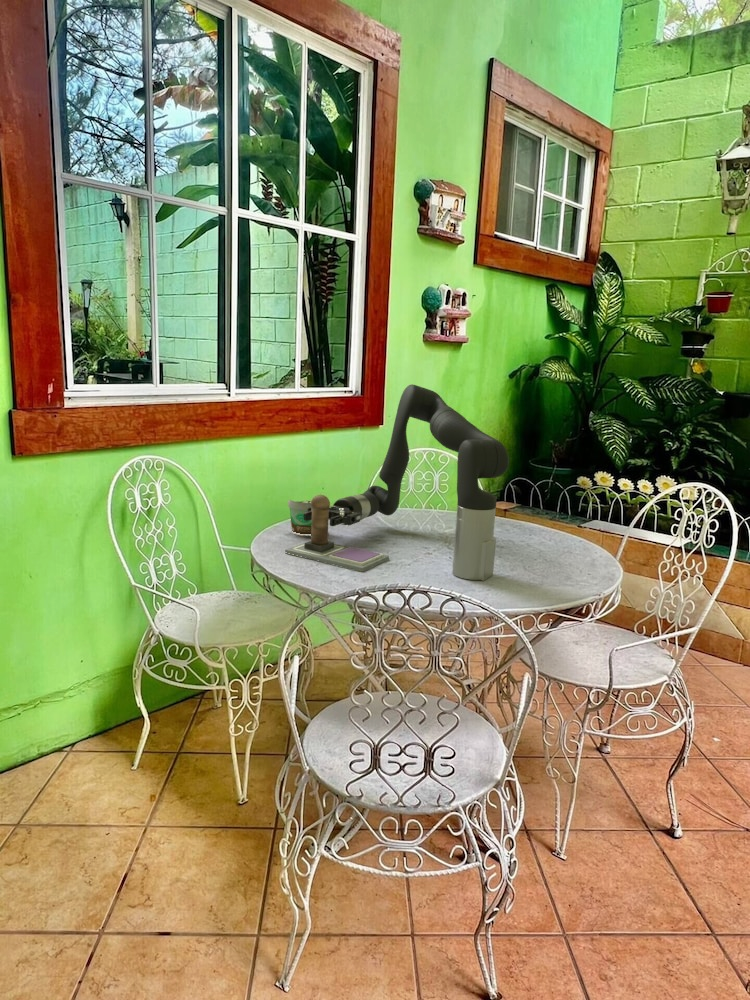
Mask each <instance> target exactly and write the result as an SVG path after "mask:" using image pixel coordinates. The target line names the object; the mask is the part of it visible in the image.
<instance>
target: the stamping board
mask: <svg viewBox="0 0 750 1000" xmlns="http://www.w3.org/2000/svg"><path fill="white" fill-rule="evenodd" d="M305 543H306V542H304V543H300V544H297V545H295V546H292V547H290V548H289V547H288V548H286V549H284V553H285V552H287V553H290V554H294V555H298V556H297V557H299V556H302V557H301V558H303V557H306V558H305V559H307V558H310V559H309V560H311V559H314V560H313V561H315V560H319V561H322V562H321V563H323V562H326V563H325V564H327V563H330V564H329V565H332V564H334V565H333V566H336V565H338V566H337V567H340V566H342V567H341V568H344V567H346V568H345V569H348V568H349V570H352V569H353V570H354V571H357V572H364V571H367V570H369V569H371V568H374V567H376V566H377V565H380V564H382V563H385V562H387V561H389V560H390V555H387V554H383V553H380V552H376V551H370V550H367V549H366V550H365V549H362V548H357V547H353V546H346V545H342V544H338V543H334V548H332V549H329V550H327V551H324V552H317V551H313V550H309V549H304V544H305ZM290 554H289V555H290ZM294 555H293V556H294ZM319 561H318V562H319ZM353 570H352V571H353Z"/></svg>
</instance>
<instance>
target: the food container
mask: <svg viewBox="0 0 750 1000" xmlns="http://www.w3.org/2000/svg"><path fill="white" fill-rule="evenodd" d="M288 499H289V500H288V501H287V505H286V506H287V507H288V508H289V515H290V525H291V526H290V527H291V532H292V531H293V532H296V533H300V534H311V525H312V520H308V521H304V513H305V512H307V508H310V507H311V501H312V500H303V501H294V500H292V499H290V498H288Z"/></svg>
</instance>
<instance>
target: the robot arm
mask: <svg viewBox="0 0 750 1000" xmlns="http://www.w3.org/2000/svg"><path fill="white" fill-rule="evenodd" d="M410 418H412V419H416V420H419V421H422V422H425V423H429V431H430V433H431V435H432V437H433V438H434V439H435V440H436V441H437V442H438V443H439V444H440V445H441V446H442V447H445V448H446V449H448V450H451V451H453V452H456V453H457V464H456V465H457V467H456V468H457V469H456V471H457V473H456V474H457V476H456V477H457V478H456V495H457V504H456V507H457V508H456V520H455V530H454V531H455V532H454V533H455V534H454V542H453V543H454V544H453V545H454V546H453V547H454V548H453V555H452V556H453V559H452V571H451V572H452V574H453V576H456V577H457V578H459V579H460V578H461V579H466V580H472V581H473V580H475V581H485V580H487V579H489V578H491V576H493V575H494V568H495V558H496V557H495V556H496V545H497V544H496V543H497V538H496V537H495V536H494V534H495V521H496V512H497V511H496V509H497V496H496V495H495V494H493V493H491V492H488V491H485V490H483V489H482V488H480V487H479V479H495V478H499V477H501V476H503V475H504V474H505V473H506V472H507V470H508V468H509V464H510V459H509V457H510V456H509V454H508V451H507V449H506V447H505V444H503V442H502V441H499V440H498V439H497V438H495V437H493V436H490V435H489V434H487V433H486V432H483V431H482V430H481V429H480V428H478V427H477V426H476V425H474V424H473V423H472V422H470V421H469V420H468V419H467V418H466V417H464V416H463V415H462V414H461V413H460V412H458V411H457V410H455V409H454V408H452V407H451V406H450V405H448V404H447V403H446V402H445V400H444V399H443V398H442V396H440V395H439V393H437V392H435V391H434V390H431V389H428V388H425V387H422V386H419V385H416V384H409V385H407V386H406V387H405V388H404V389H403V391H402V394H401V396H400V399H399V401H398V405H397V410H396V415H395V418H394V423H393V428H392V433H391V437H390V440H389V441H390V443H389V445H388V449H387V453H386V454H385V455H386V456H385V458H384V460H383V463H382V466H381V469H380V471H379V475H378V476H379V479H380V480H381V481H382V482H383V483H384V484H385V485H386V486H387V488H385V487H381V486H380V485H372V486H371V485H370V486H369V488H368V489H366V491H363V493H360V494H353V495H348V496H345V497H343V498H338V499H337V500H335V501H334V503H333V505H330V507H329V516H328V521H329V527H336V526H338V525H341V526H352V525H355V524H358V523H359V522H361V521H362V520H364V519H366V518H369V517H372V516H375V514H377V513H380V514H382V515H384V516H387V517H388V516H392V515H393V514H394V513H396V511H397V510H398V508H399V504H400V500H401V499H400V498H401V497H400V496H401V489H402V481H403V478H404V476H405V473H406V470H407V468H408V464H409V462H410V451H409V450H410V449H409V443H408V437H407V426H408V423H409V420H410ZM308 520H312V507H310V508H307V512H305V513H304V521H308Z"/></svg>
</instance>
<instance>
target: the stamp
mask: <svg viewBox="0 0 750 1000" xmlns="http://www.w3.org/2000/svg"><path fill="white" fill-rule="evenodd" d="M310 501H311V507H312V525H311V536H310V540H309V541H307V542H306V541H305V542H304V543H305V544H304V549H309V550H313V551H317V552H324V551H327V550H329V549H332V548H334V544H335V542H334V541H329V520H328V516H329V507H330V506H331V501H330V499H329V497H327V496H326V495H324V494H316V495H314V496H313V498H312V499H311V500H310Z"/></svg>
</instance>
